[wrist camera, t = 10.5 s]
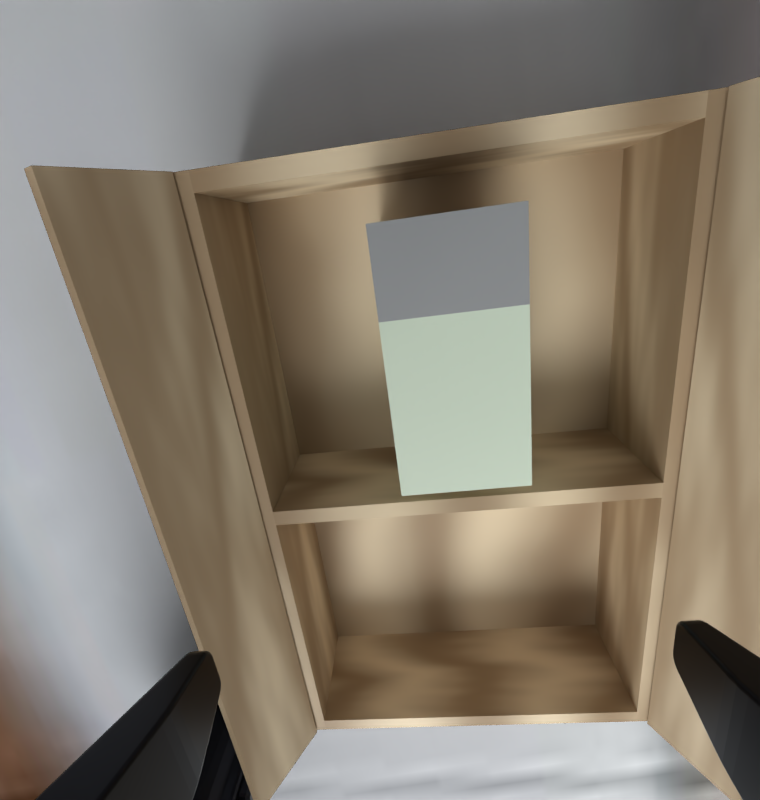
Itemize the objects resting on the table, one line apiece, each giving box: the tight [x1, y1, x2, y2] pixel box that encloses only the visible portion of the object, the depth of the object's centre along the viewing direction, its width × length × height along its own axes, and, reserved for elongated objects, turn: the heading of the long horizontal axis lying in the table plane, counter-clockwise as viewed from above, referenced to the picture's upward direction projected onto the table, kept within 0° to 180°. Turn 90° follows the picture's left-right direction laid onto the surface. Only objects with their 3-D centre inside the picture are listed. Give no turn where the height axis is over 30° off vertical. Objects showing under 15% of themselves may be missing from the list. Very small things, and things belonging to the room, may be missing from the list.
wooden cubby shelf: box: [24, 77, 760, 800], centre depth 17 cm, size 19×24×8 cm
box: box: [366, 201, 532, 496], centre depth 15 cm, size 4×8×6 cm, turn 8°
